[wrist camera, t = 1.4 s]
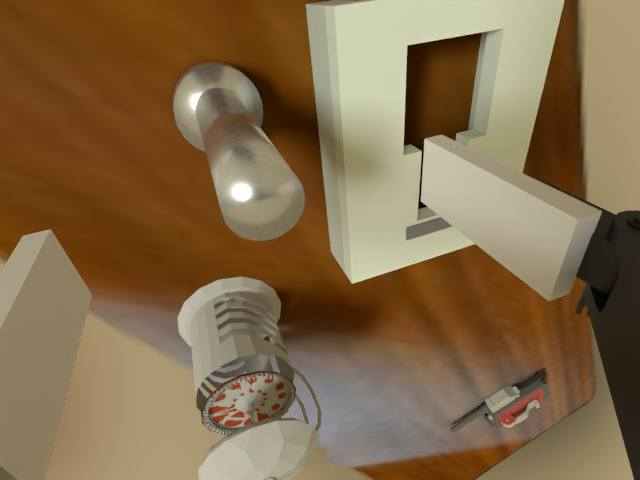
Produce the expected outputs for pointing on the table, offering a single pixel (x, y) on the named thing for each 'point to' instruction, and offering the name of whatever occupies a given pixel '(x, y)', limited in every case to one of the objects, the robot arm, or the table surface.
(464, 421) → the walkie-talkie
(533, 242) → the robot arm
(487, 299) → the table surface
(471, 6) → the keyhole board
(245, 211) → the steel peg
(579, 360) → the table surface
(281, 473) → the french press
